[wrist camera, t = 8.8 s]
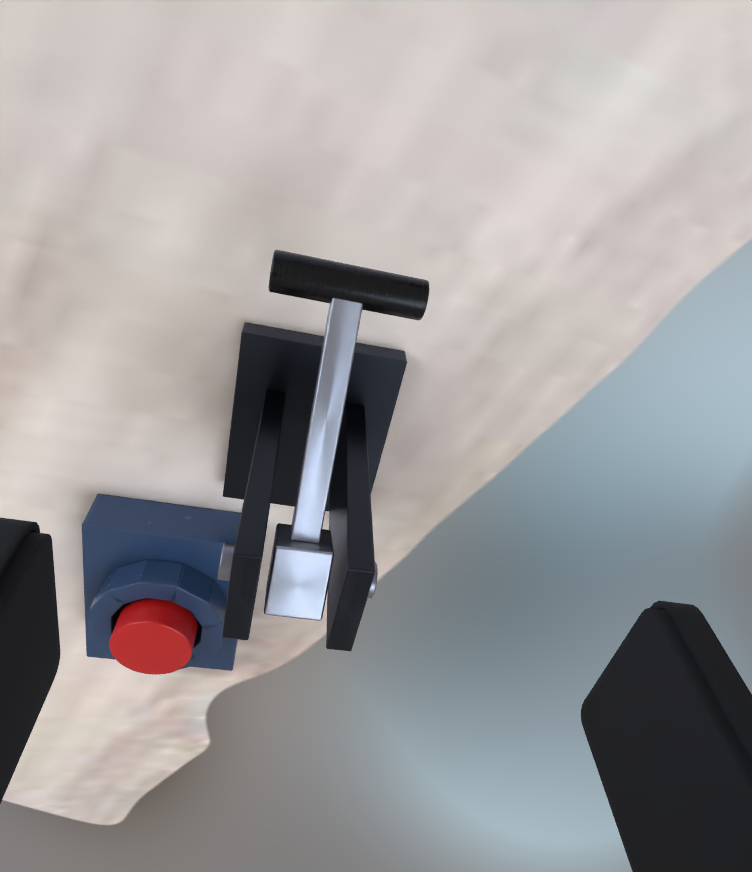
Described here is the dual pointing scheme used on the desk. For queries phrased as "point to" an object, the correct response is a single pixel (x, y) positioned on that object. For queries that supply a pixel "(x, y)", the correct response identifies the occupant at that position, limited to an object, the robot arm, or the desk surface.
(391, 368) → the bracket
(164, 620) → the button
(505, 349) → the desk surface
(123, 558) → the button box
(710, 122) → the desk surface
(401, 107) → the desk surface
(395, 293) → the lever
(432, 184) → the desk surface
